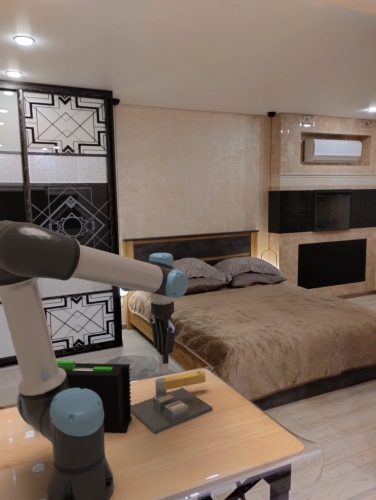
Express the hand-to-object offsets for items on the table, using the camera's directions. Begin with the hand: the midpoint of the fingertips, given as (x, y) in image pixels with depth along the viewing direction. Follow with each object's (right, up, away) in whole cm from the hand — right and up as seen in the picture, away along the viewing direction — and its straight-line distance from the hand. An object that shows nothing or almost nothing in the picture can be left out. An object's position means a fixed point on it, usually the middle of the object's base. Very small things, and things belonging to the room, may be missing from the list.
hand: (163, 371), depth 132 cm
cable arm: (+6, -10, +9) cm, 14 cm away
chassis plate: (+2, -12, 0) cm, 13 cm away
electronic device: (-24, -14, -6) cm, 28 cm away
